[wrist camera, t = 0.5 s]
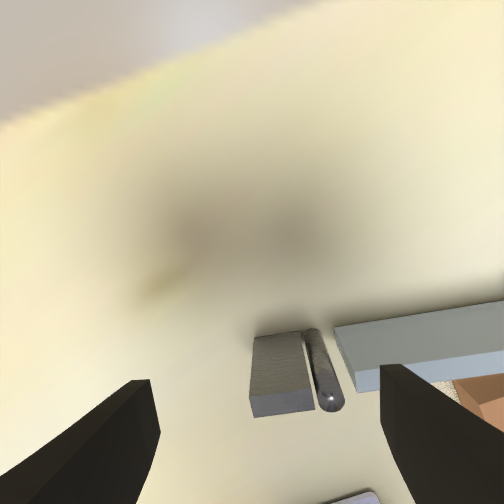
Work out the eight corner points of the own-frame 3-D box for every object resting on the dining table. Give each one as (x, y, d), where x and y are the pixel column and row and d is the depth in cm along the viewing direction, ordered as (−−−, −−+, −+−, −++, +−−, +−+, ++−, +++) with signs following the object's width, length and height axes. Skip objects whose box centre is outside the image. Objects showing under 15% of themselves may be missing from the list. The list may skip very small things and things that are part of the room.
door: (554, 310, 18) (648, 352, 13) (336, 344, 19) (357, 393, 15) (555, 276, 17) (652, 308, 13) (331, 313, 18) (351, 354, 14)
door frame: (590, 303, 18) (739, 360, 12) (257, 355, 20) (254, 424, 14) (591, 281, 18) (745, 329, 12) (253, 336, 19) (248, 399, 14)
